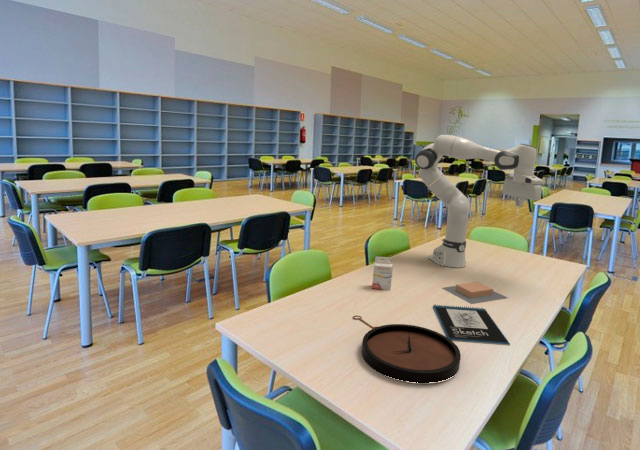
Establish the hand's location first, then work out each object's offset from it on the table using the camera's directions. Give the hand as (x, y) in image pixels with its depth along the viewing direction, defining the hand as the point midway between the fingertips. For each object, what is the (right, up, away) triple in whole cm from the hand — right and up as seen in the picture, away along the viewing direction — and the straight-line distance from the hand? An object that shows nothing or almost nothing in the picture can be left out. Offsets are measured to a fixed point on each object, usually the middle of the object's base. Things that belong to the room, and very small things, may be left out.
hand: (518, 206), depth 204 cm
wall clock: (-68, -53, -67) cm, 109 cm away
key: (-79, -47, -45) cm, 103 cm away
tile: (-20, -39, -8) cm, 45 cm away
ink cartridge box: (-69, -39, -8) cm, 79 cm away
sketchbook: (-40, -49, -42) cm, 76 cm away
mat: (-26, -41, -10) cm, 50 cm away
